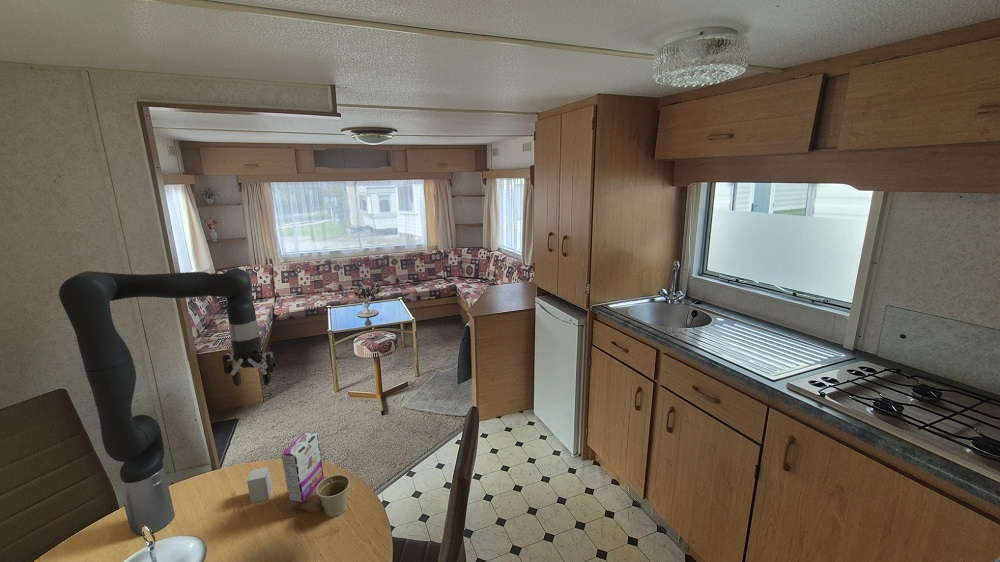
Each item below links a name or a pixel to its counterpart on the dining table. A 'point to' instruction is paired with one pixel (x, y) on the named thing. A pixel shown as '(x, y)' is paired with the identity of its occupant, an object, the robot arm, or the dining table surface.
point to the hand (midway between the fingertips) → (253, 384)
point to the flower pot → (334, 494)
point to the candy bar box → (302, 466)
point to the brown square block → (305, 503)
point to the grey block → (259, 484)
